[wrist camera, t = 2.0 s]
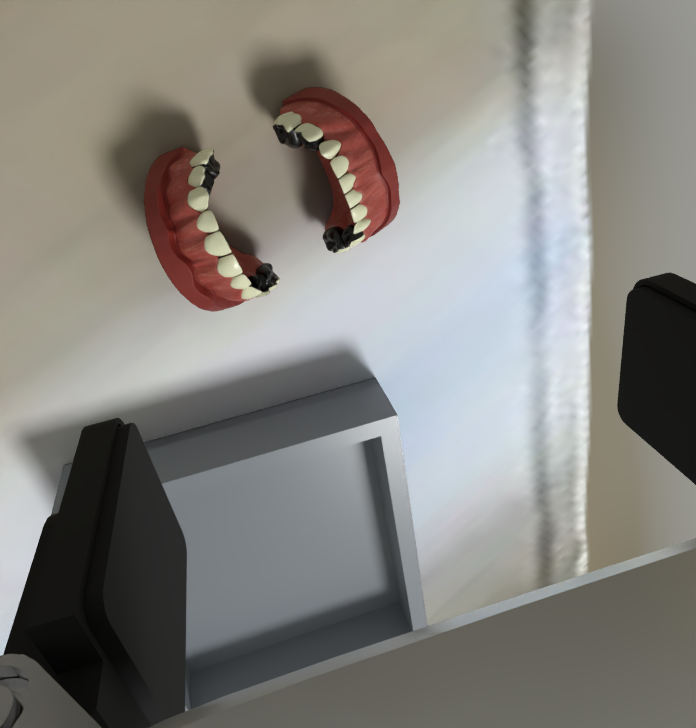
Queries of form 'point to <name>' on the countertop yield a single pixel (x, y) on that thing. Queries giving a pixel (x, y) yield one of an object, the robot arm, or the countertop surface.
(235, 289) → the denture
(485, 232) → the countertop surface
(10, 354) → the countertop surface
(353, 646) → the tray
